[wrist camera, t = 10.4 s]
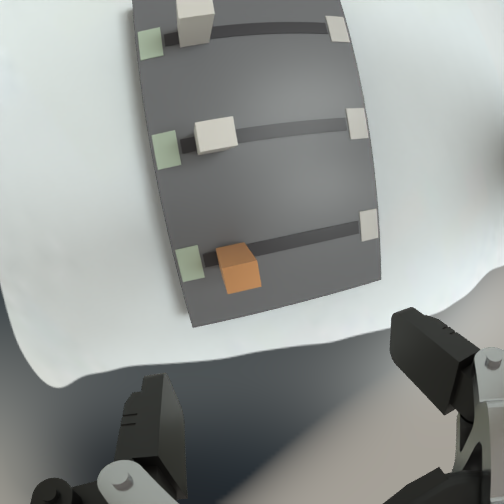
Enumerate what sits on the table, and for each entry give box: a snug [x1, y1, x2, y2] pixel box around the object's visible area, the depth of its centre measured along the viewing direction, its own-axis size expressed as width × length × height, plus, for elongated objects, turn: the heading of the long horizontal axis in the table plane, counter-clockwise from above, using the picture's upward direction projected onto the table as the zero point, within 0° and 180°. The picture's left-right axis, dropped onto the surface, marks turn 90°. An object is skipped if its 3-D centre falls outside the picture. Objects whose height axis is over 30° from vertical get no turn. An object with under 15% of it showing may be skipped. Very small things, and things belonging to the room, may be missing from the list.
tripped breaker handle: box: [216, 242, 262, 294], centre depth 20 cm, size 2×2×4 cm
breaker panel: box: [132, 0, 381, 328], centre depth 20 cm, size 16×26×7 cm, turn 10°
